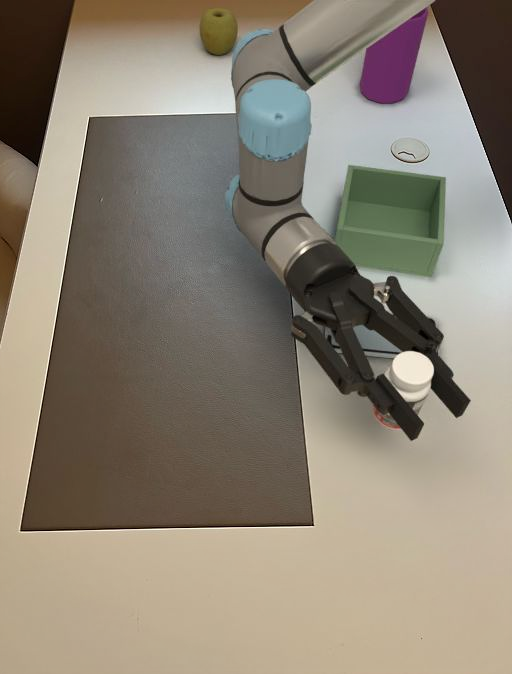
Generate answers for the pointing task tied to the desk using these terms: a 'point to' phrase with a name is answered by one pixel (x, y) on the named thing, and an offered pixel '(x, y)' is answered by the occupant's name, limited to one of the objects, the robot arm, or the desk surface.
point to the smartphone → (371, 342)
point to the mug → (393, 61)
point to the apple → (218, 30)
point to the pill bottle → (408, 383)
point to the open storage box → (392, 220)
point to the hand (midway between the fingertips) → (440, 420)
